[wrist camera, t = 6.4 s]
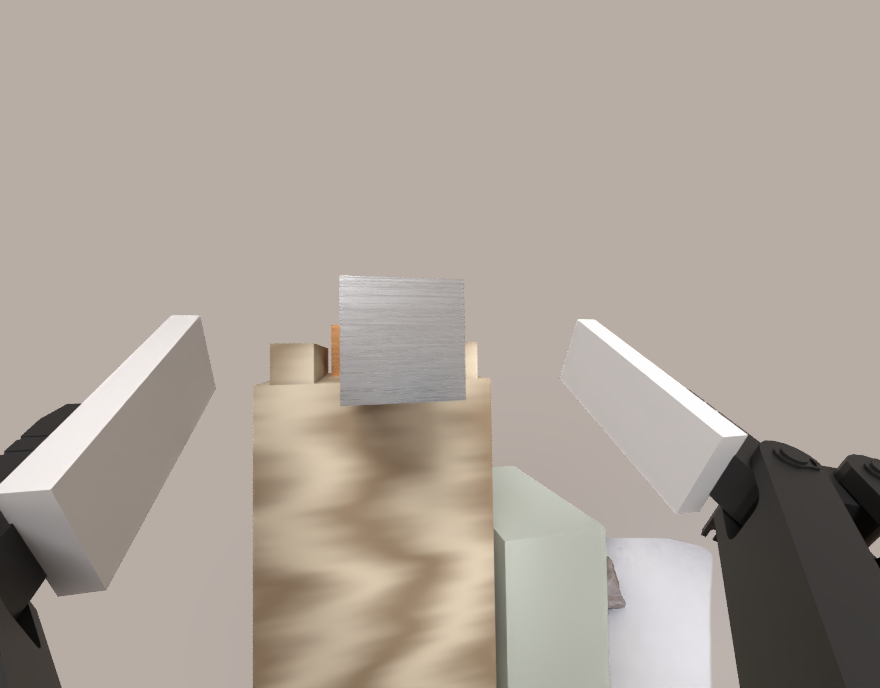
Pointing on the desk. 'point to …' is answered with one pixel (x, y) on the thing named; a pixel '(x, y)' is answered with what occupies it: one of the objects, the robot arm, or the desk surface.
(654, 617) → the desk surface
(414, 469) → the stand
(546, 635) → the pale green block
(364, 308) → the grey long bar
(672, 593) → the desk surface
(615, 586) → the stone
